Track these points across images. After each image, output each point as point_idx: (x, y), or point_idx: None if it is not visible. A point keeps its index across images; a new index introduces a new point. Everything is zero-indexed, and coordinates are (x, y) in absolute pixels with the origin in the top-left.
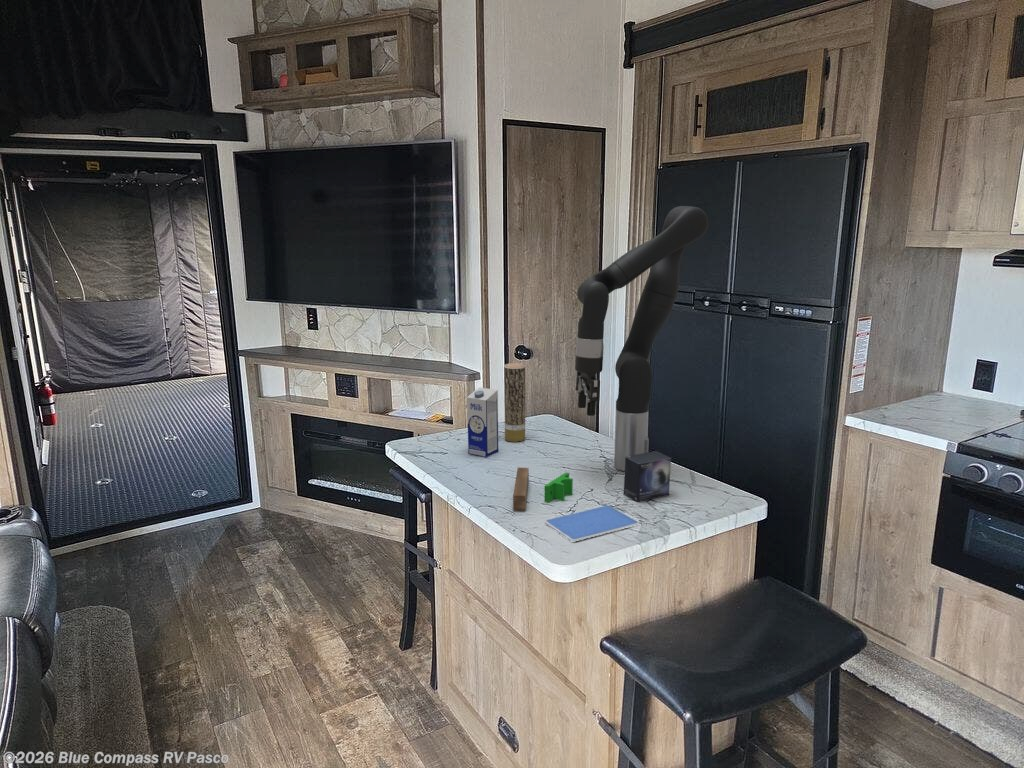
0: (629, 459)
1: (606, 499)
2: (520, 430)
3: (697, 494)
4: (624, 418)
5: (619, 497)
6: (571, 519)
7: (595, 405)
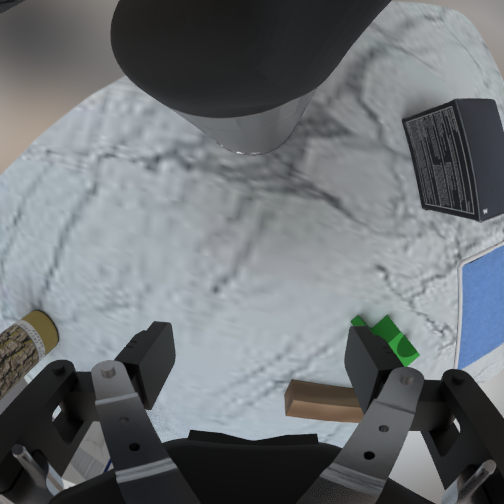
0: (492, 217)
1: (432, 254)
2: (41, 336)
3: (440, 65)
4: (300, 101)
5: (432, 223)
6: (472, 337)
7: (387, 356)
